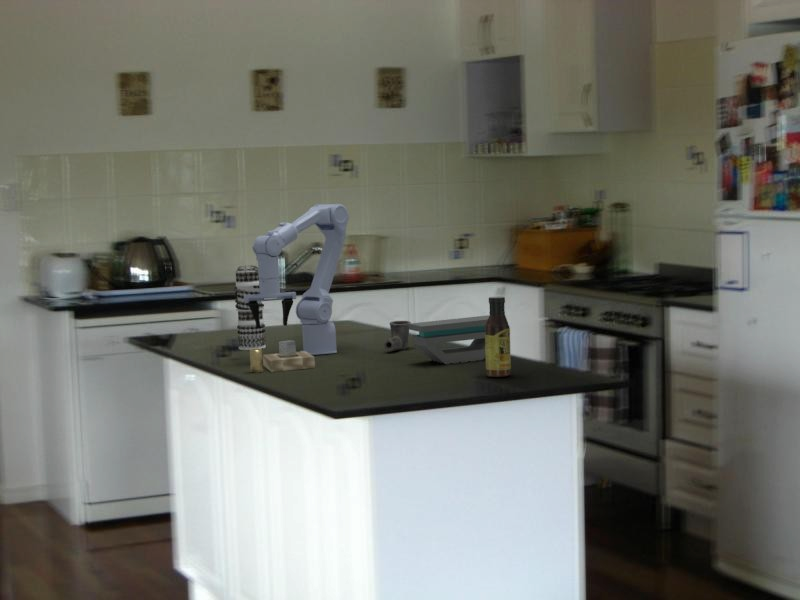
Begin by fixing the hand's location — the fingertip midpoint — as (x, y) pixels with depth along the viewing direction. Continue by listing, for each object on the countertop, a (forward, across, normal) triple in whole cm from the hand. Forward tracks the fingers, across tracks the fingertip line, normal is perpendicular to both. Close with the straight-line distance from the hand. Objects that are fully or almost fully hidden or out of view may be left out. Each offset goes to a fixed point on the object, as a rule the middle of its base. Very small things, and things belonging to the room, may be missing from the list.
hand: (271, 326), depth 355 cm
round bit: (+10, +8, +16) cm, 20 cm away
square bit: (+10, -2, +12) cm, 16 cm away
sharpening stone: (+10, -46, +26) cm, 54 cm away
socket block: (+10, -2, +12) cm, 16 cm away
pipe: (+10, -37, -1) cm, 38 cm away
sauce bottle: (+10, -47, +55) cm, 73 cm away
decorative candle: (+10, +1, -30) cm, 32 cm away
